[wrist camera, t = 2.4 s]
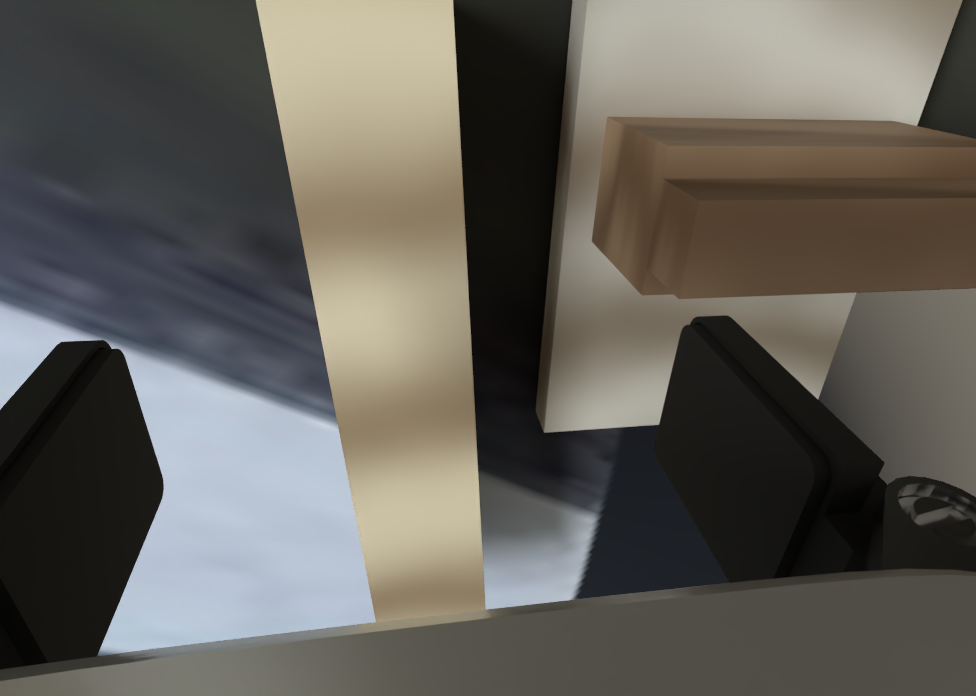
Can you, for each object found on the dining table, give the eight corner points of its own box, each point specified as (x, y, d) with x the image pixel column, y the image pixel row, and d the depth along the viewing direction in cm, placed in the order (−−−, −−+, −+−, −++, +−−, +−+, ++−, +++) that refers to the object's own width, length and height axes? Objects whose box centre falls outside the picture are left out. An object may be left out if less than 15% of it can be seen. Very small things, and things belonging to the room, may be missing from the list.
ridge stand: (792, 394, 27) (931, 523, 21) (535, 411, 26) (594, 559, 19) (983, -175, 18) (1368, -289, 11) (591, -216, 16) (758, -386, 9)
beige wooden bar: (467, 529, 29) (487, 644, 24) (382, 541, 28) (384, 661, 23) (430, -7, 18) (452, -13, 13) (290, -2, 17) (254, -6, 12)
